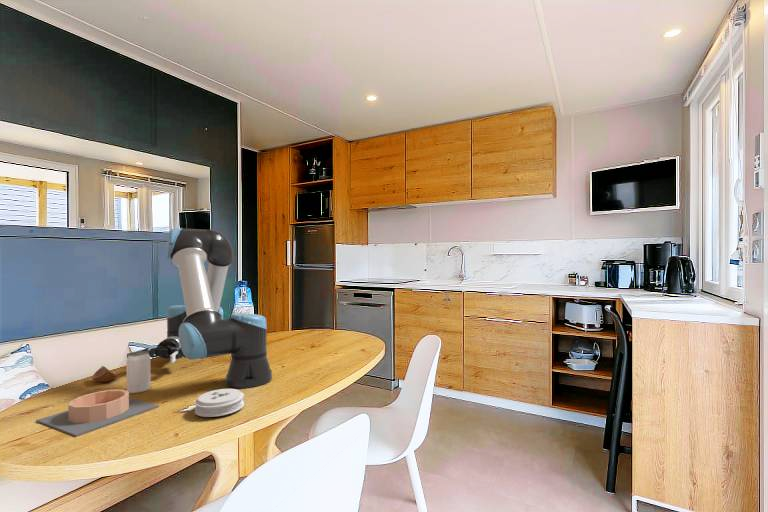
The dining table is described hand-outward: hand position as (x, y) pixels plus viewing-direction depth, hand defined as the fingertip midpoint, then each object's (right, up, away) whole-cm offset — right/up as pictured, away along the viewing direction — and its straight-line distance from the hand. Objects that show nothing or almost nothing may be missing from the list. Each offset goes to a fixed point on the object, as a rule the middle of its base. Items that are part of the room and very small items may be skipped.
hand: (149, 360), depth 131 cm
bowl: (+4, -7, -28) cm, 29 cm away
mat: (+4, -7, -28) cm, 29 cm away
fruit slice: (-16, -7, -1) cm, 17 cm away
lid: (+36, -7, -27) cm, 46 cm away
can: (+2, -7, -10) cm, 12 cm away
